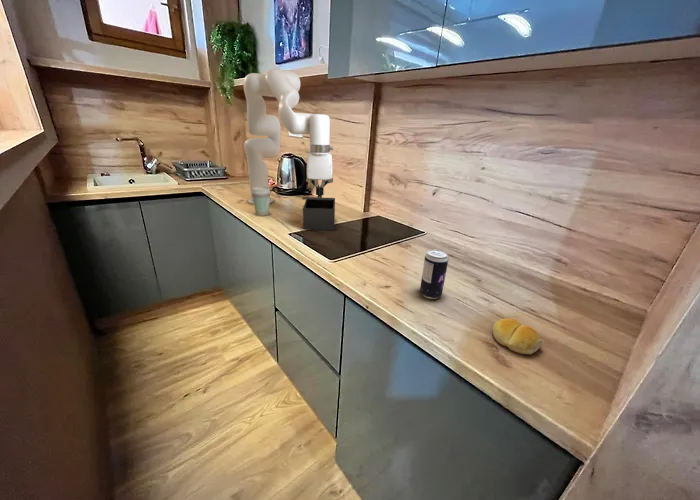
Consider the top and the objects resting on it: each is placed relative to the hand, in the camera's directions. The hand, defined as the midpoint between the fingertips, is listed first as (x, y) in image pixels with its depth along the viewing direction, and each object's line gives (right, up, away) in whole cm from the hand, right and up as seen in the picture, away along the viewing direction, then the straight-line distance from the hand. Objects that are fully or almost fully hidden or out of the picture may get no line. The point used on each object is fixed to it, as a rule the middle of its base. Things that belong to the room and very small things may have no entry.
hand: (319, 196), depth 123 cm
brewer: (-1, -10, +7) cm, 13 cm away
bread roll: (+47, -41, -59) cm, 86 cm away
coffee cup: (-28, -5, +17) cm, 33 cm away
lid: (0, -1, +3) cm, 3 cm away
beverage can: (+34, -34, -43) cm, 64 cm away
